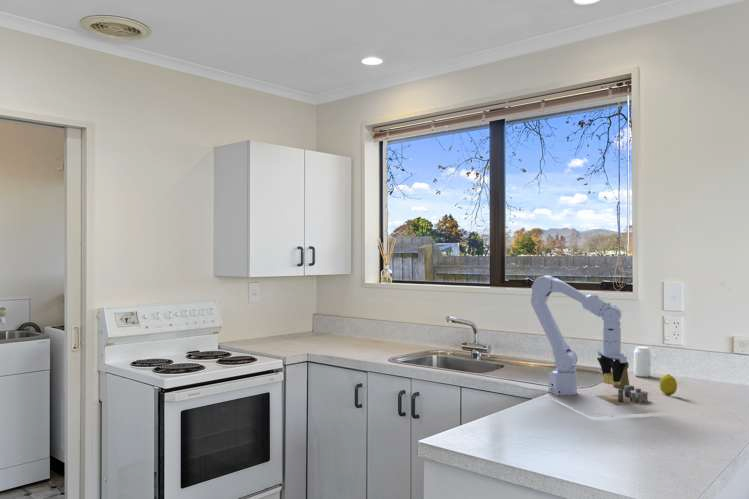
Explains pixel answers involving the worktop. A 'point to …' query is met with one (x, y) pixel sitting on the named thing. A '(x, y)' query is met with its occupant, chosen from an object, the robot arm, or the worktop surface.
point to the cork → (623, 378)
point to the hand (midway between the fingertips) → (611, 379)
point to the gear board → (627, 396)
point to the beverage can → (642, 361)
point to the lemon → (668, 385)
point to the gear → (610, 379)
